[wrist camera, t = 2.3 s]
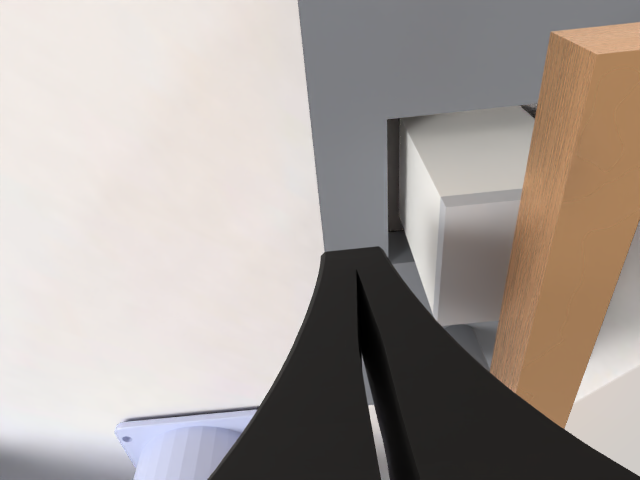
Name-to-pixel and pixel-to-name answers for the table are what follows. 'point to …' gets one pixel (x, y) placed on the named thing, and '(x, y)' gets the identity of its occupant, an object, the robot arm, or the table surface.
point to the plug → (463, 205)
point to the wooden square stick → (572, 215)
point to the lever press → (417, 99)
